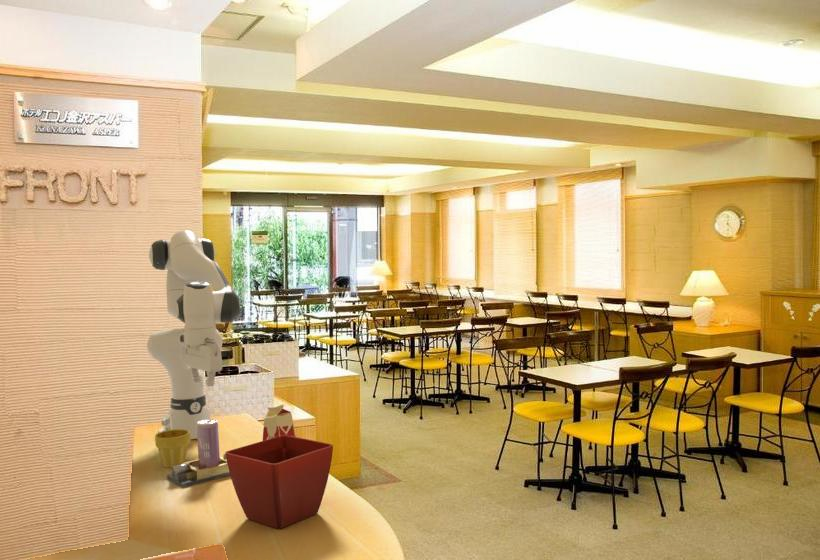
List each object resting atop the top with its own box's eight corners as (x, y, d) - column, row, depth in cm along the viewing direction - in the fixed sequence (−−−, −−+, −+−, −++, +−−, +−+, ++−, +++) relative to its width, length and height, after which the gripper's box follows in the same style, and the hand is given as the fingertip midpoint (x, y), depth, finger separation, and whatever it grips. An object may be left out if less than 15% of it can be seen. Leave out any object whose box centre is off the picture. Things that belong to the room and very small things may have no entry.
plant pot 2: (287, 496, 182) (284, 433, 181) (338, 511, 169) (335, 444, 169) (226, 520, 167) (223, 451, 166) (277, 538, 155) (274, 464, 154)
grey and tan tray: (167, 478, 201) (166, 462, 201) (233, 461, 214) (232, 446, 214) (183, 487, 192) (182, 470, 192) (251, 469, 206) (250, 453, 205)
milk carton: (302, 469, 204) (299, 402, 203) (277, 477, 198) (273, 408, 197) (284, 463, 211) (281, 398, 210) (259, 471, 204) (255, 404, 203)
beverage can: (223, 468, 204) (220, 418, 204) (215, 475, 198) (212, 424, 198) (204, 468, 205) (201, 419, 204) (195, 475, 199) (193, 424, 198)
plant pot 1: (191, 466, 211) (189, 435, 211) (155, 471, 208) (153, 439, 208) (191, 457, 221) (190, 427, 221) (157, 461, 218) (155, 431, 218)
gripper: (226, 338, 195) (229, 386, 196) (196, 333, 211) (199, 378, 211) (205, 341, 191) (208, 390, 192) (176, 336, 207) (179, 381, 207)
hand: (203, 384), depth 202 cm, fingers open, 8 cm apart
